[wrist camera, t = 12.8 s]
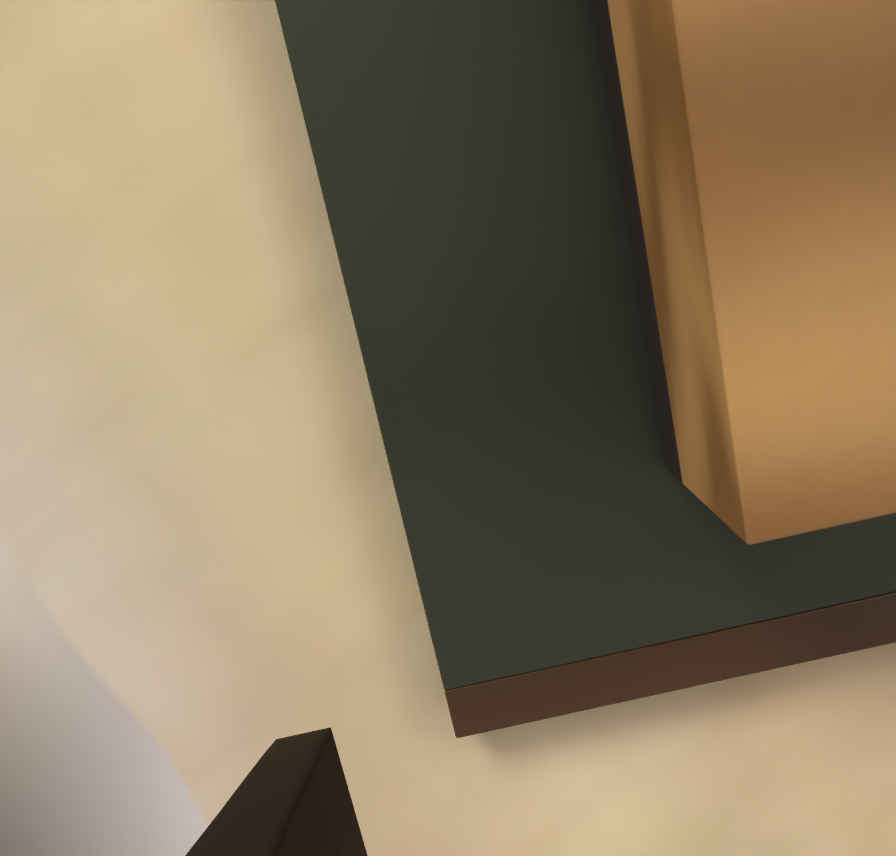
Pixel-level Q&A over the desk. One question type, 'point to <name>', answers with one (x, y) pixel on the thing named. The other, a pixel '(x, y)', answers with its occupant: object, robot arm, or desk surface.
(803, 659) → the slate board
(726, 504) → the eraser
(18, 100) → the desk surface
